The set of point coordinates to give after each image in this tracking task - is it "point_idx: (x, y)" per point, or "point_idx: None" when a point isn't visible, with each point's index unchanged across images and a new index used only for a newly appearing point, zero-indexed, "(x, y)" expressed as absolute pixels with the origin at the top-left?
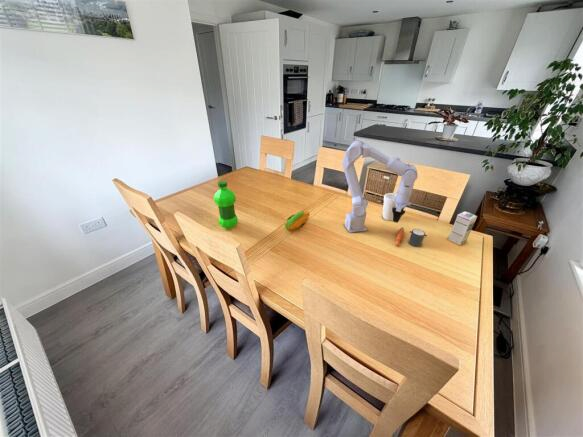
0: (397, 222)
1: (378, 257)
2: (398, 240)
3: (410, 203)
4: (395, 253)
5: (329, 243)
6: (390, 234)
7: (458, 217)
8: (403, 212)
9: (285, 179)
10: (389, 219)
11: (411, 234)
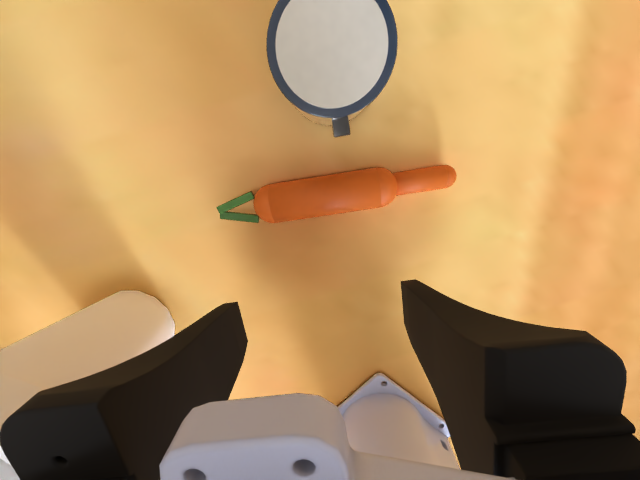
0: (419, 282)
1: (620, 230)
2: (412, 185)
3: (272, 457)
4: (528, 157)
5: None
6: (328, 251)
7: None
8: (624, 368)
9: None
10: (165, 313)
11: (358, 112)
